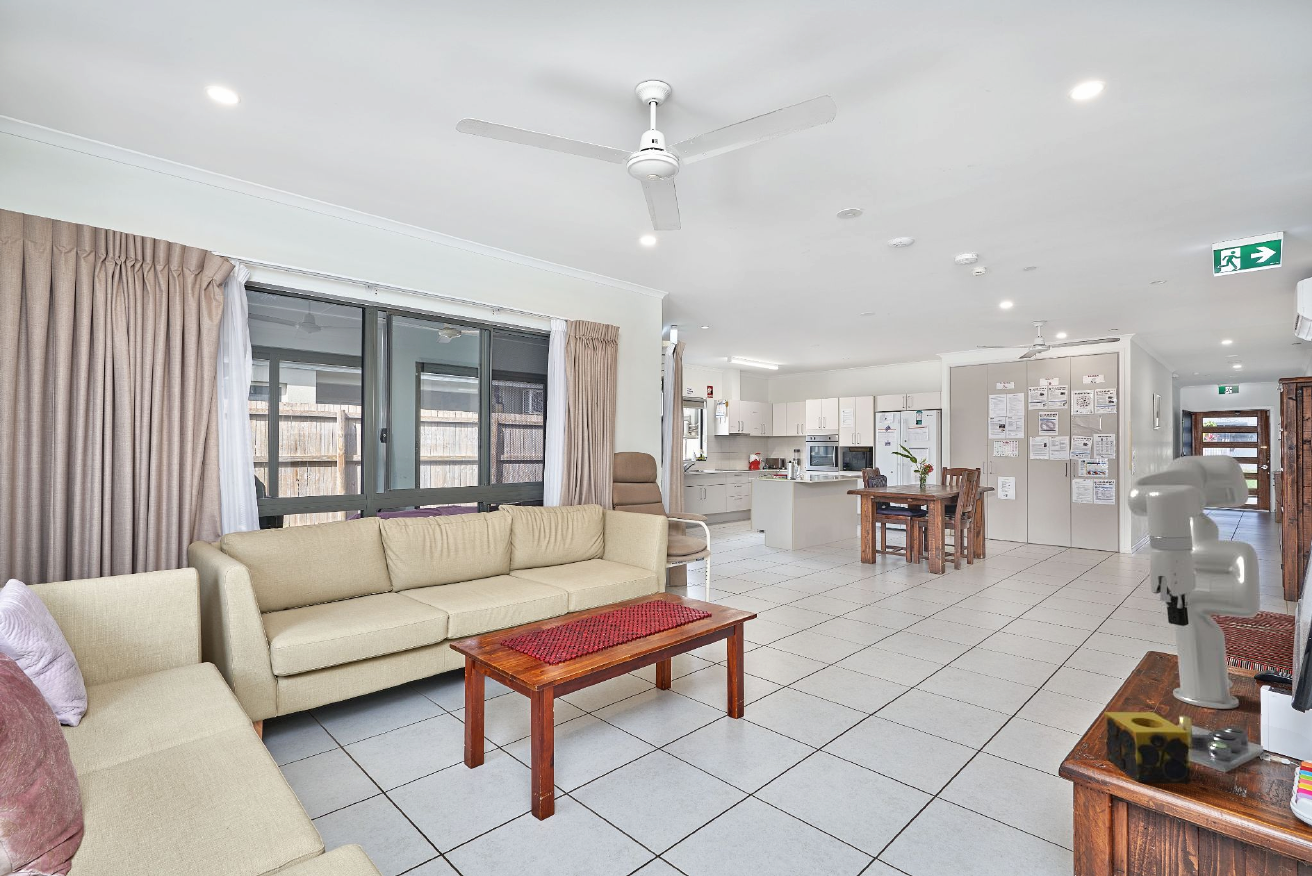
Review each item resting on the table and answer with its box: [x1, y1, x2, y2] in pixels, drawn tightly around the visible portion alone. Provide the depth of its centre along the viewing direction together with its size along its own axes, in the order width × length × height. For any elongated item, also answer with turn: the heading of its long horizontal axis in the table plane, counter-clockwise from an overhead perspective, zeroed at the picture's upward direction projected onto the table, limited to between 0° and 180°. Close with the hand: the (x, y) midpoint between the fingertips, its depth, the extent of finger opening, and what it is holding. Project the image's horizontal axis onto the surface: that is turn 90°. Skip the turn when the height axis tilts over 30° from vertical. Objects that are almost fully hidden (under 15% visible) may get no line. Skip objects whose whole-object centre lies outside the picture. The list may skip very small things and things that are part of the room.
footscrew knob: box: [1178, 715, 1241, 752], centre depth 133 cm, size 10×5×6 cm, turn 79°
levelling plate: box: [1176, 724, 1264, 774], centre depth 135 cm, size 16×14×4 cm
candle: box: [1104, 711, 1192, 784], centre depth 127 cm, size 10×10×10 cm
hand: (1178, 624), depth 143 cm, fingers closed
